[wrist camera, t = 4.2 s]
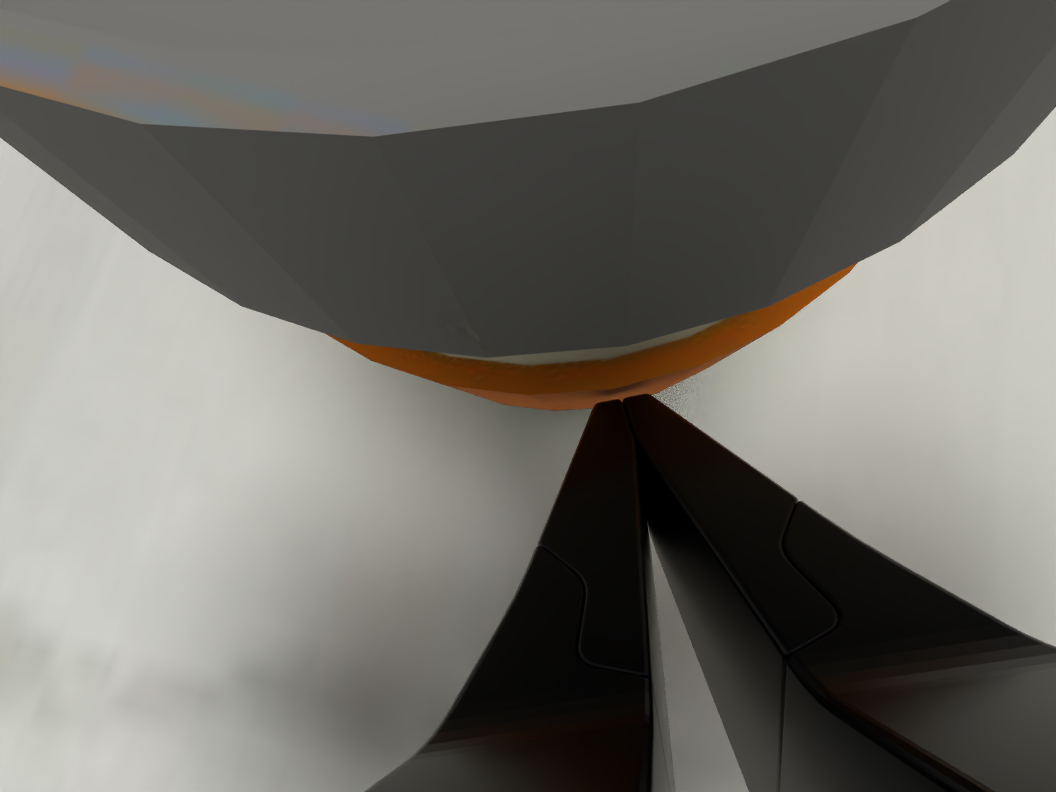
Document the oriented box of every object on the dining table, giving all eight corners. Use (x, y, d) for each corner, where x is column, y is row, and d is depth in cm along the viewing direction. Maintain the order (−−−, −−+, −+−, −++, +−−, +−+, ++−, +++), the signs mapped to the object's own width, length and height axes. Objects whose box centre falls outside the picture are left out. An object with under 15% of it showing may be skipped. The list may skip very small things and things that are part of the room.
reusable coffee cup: (878, 318, 17) (2594, -912, 2) (504, 550, 17) (-109, 766, 2) (633, 18, 20) (719, -1365, 5) (314, 217, 20) (-486, -610, 5)
